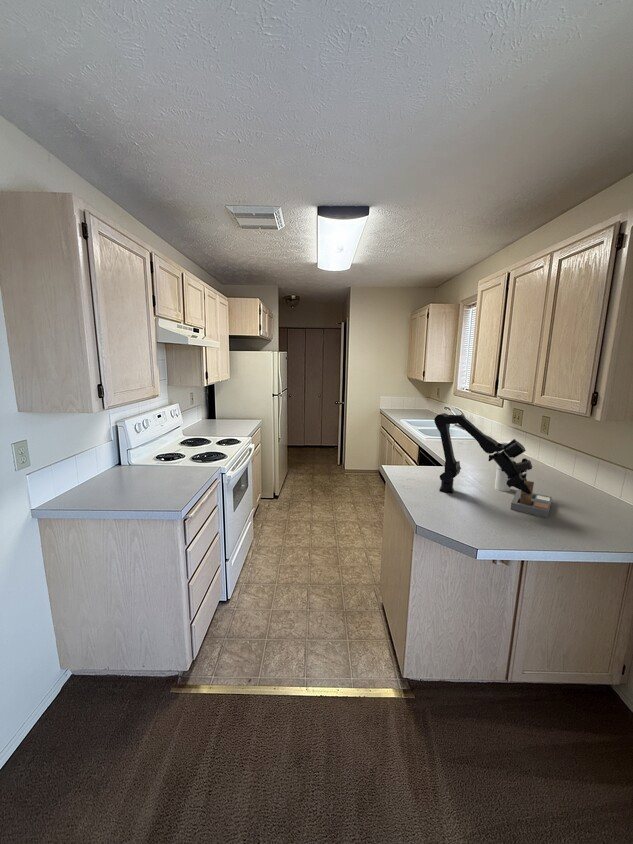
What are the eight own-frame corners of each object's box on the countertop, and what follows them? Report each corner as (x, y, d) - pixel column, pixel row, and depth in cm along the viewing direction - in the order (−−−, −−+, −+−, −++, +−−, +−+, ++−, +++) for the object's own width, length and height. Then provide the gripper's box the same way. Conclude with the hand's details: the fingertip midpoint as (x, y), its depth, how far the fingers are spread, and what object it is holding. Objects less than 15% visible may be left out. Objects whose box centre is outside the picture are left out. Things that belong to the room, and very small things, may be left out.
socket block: (510, 509, 155) (511, 502, 155) (516, 495, 171) (517, 489, 170) (547, 517, 147) (548, 510, 146) (550, 503, 163) (551, 496, 162)
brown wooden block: (519, 505, 156) (522, 482, 154) (520, 502, 159) (523, 479, 157) (529, 508, 153) (533, 484, 151) (530, 505, 156) (533, 482, 154)
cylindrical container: (512, 491, 176) (518, 443, 172) (496, 490, 177) (502, 443, 173) (507, 486, 183) (513, 440, 178) (492, 485, 184) (498, 439, 180)
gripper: (518, 458, 147) (545, 489, 142) (524, 449, 161) (549, 477, 157) (495, 472, 153) (521, 502, 148) (503, 462, 168) (526, 489, 163)
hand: (530, 492), depth 154 cm, fingers closed on brown wooden block, 4 cm apart
